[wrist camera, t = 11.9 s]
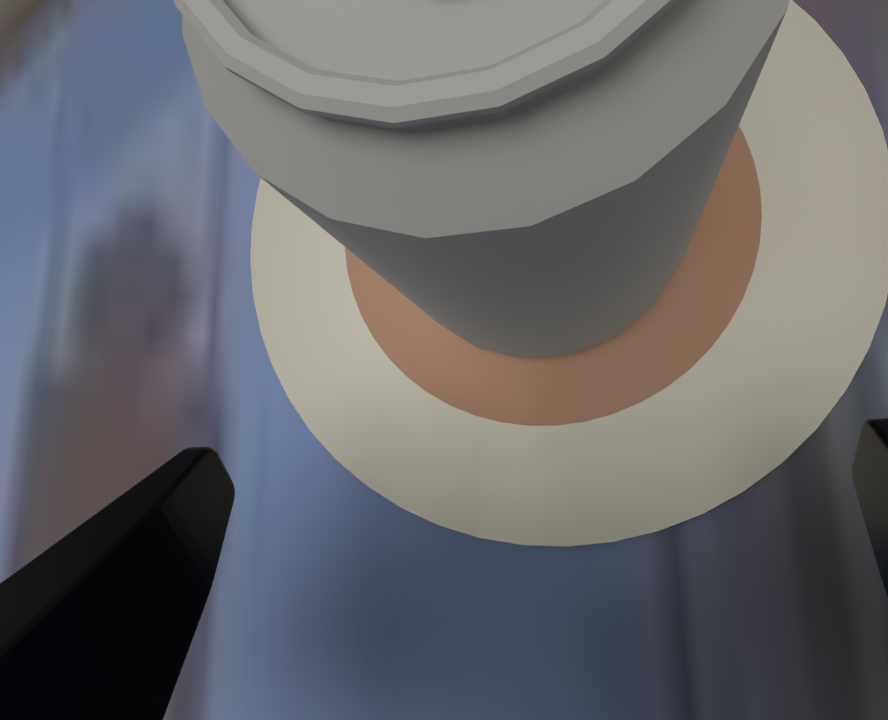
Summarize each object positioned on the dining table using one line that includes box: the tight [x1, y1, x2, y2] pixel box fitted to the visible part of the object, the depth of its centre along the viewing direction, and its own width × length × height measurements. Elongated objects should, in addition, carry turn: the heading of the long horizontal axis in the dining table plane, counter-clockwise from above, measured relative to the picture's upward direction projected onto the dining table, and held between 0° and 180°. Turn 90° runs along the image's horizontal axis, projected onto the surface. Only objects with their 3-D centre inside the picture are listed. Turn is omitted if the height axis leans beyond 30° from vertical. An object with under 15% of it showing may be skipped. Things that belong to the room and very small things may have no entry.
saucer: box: [250, 0, 888, 547], centre depth 18 cm, size 17×17×1 cm
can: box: [174, 0, 789, 359], centre depth 12 cm, size 8×8×12 cm
